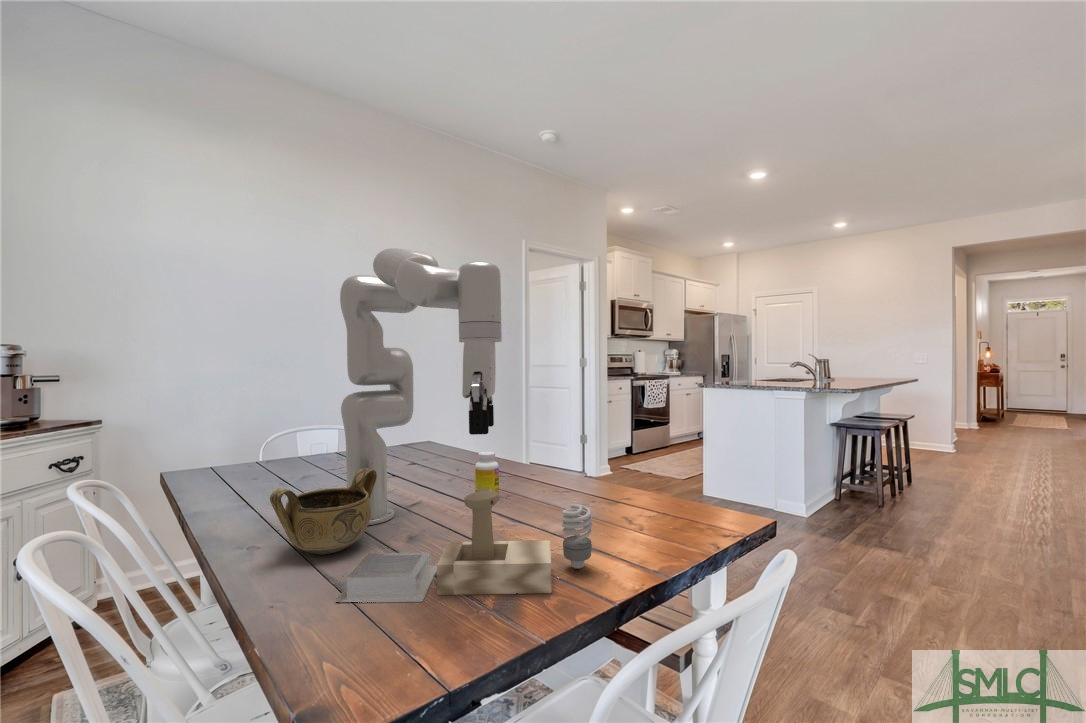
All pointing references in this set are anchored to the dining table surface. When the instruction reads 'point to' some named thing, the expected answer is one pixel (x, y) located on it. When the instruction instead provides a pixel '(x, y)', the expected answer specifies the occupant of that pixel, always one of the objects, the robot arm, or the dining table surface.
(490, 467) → the supplement bottle
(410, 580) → the tray
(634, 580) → the dining table surface
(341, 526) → the ceramic bowl
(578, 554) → the light bulb
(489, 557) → the handle
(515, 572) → the block
